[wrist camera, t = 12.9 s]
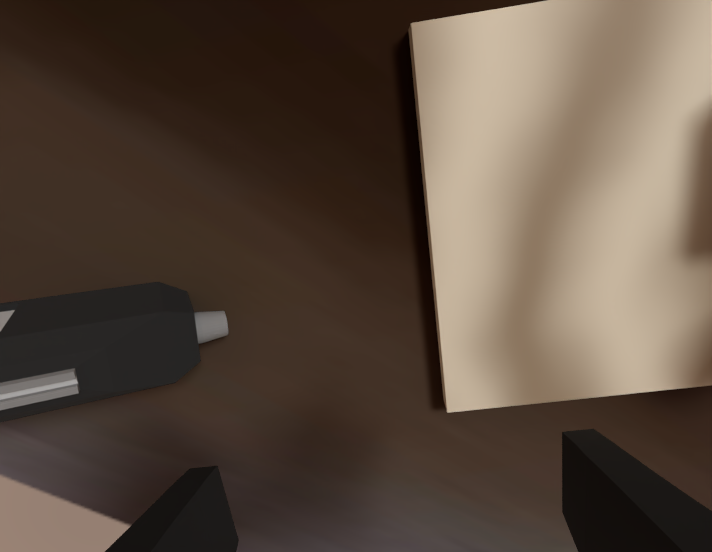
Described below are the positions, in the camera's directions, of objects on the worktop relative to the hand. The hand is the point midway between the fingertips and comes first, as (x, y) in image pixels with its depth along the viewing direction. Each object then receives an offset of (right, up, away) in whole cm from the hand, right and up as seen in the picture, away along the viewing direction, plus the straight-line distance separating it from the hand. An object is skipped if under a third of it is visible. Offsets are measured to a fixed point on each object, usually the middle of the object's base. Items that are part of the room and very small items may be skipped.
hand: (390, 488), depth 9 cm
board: (+14, +8, +8) cm, 18 cm away
